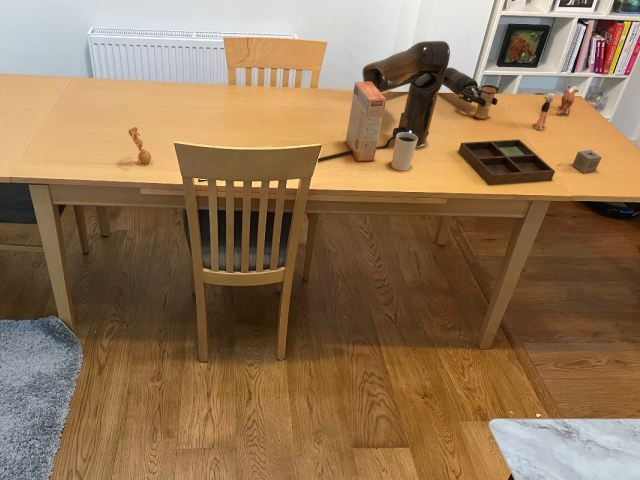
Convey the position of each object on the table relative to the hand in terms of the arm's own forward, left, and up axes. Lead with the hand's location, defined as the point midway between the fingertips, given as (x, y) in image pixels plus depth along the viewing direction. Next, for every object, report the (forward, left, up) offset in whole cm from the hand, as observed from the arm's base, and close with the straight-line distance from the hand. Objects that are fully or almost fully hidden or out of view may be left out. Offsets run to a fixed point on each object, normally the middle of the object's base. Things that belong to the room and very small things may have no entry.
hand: (490, 103), depth 211 cm
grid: (-10, -32, -7) cm, 35 cm away
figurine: (-125, -16, -7) cm, 127 cm away
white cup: (-44, -28, -7) cm, 53 cm away
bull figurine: (+36, +5, -7) cm, 36 cm away
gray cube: (+16, -37, -7) cm, 41 cm away
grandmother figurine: (+18, -7, -7) cm, 20 cm away
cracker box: (-54, -17, -7) cm, 58 cm away
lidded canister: (0, +3, -6) cm, 7 cm away
